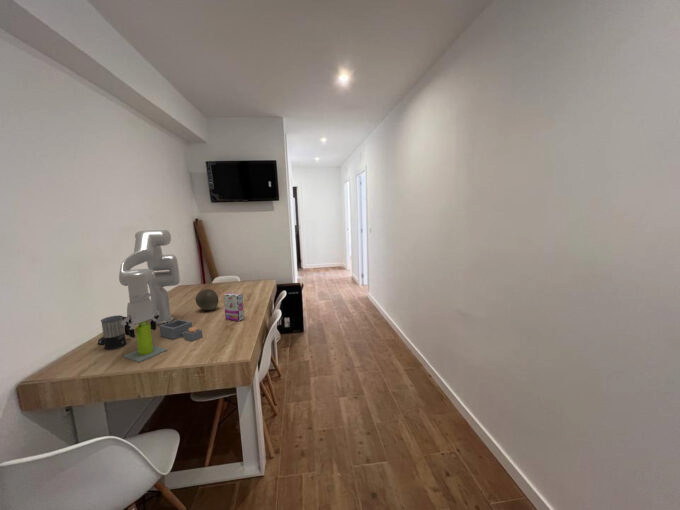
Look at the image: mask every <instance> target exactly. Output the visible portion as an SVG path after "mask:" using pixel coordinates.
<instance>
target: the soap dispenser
mask: <svg viewBox="0 0 680 510" xmlns="http://www.w3.org/2000/svg"><path fill="white" fill-rule="evenodd" d="M135 333H136V334H135V336H136V341H137V350H138V353H139V355H146V354H150V353H152V352H153V335H152V329H151V325H150V323H148V321H144V322H142V323H138V325H137V326H135Z"/></svg>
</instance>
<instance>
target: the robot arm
mask: <svg viewBox="0 0 680 510" xmlns="http://www.w3.org/2000/svg"><path fill="white" fill-rule="evenodd" d="M134 238H135V240H134V241H135V243H134V248H133V253H132V254H129V256H128V257H126V258H125V259H124V260H123V261H122V263H121V264H120V269H119V274H118V281H119V283H120V285H122V286H125V287H127V290H128V298H129V302H127V307H126V316H125V317H126V318H125V319H124V320H123V321H121V322H120V323H121V324H122V325H123V327H125V328H127V329H128V333H129V335H128V336H129V337H130V338H135V337H136V334H135V333H136V330H135V329H134V328H135V327H136V326H135V325H137V324H138V323H142V322H144V321H147V322H148V321H150V322H149V324H150V325H151V331H152V330H153V331H156V330H157V325H163V323H164V324H166V323H167V322H168V323H169V322H172V321H174V319H175V318H174V316H172V315H171V308H170V307H171V306H170V297H169V292H168V290H166V289H165V288H164V287H174V286H178V285H179V284H180V282H181V278H180V270H179V264H178V262H179V261H178V259H177V256H176V255H174V254H163V250H162V247H163V246H167V245H169V244H171V241H172V235H171V233H170V231H169V230H167V229H163V230H162V229H159V230H154V229H153V230H140V231H137V232H135V234H134ZM144 263H146V265H147V267H148V268H139V269H132V268H134V267H136V266H138V265H141V264H144ZM127 321H128V323H129V324H128V325H127V324H126V322H127ZM138 325H139V324H138ZM125 328H124V329H125Z"/></svg>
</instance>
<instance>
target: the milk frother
mask: <svg viewBox="0 0 680 510" xmlns="http://www.w3.org/2000/svg"><path fill="white" fill-rule="evenodd" d="M126 317H127V316H123V315H119V314H118V315H112V316H108V317H105V318H102V319H100V322H101V328H102V337H100V338H98V340H97V344H99V345H104V350H109V351H110V350H111V351H112V350H116V349H120V348H122V347H124V346H126V345H127V341H126V340H127V339H126V336H129V333H128V329H127V328H125V327H123V325H122V324H121V323H120V322H121V321H123V320H124V319H125V318H126ZM126 324H127V325H128V324H129V323H128V321H127V322H126Z"/></svg>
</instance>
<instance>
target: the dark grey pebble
mask: <svg viewBox="0 0 680 510" xmlns="http://www.w3.org/2000/svg"><path fill="white" fill-rule="evenodd" d="M195 303H196V306H198V308H200V309H201V310H204V311H212V310H215V309H216V308H217V307H218V305H219V296H218V294H217V293H216V291H215V290H213V289H209V288H207V289H202V290H200V291H199V292H197V293H196V295H195Z"/></svg>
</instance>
